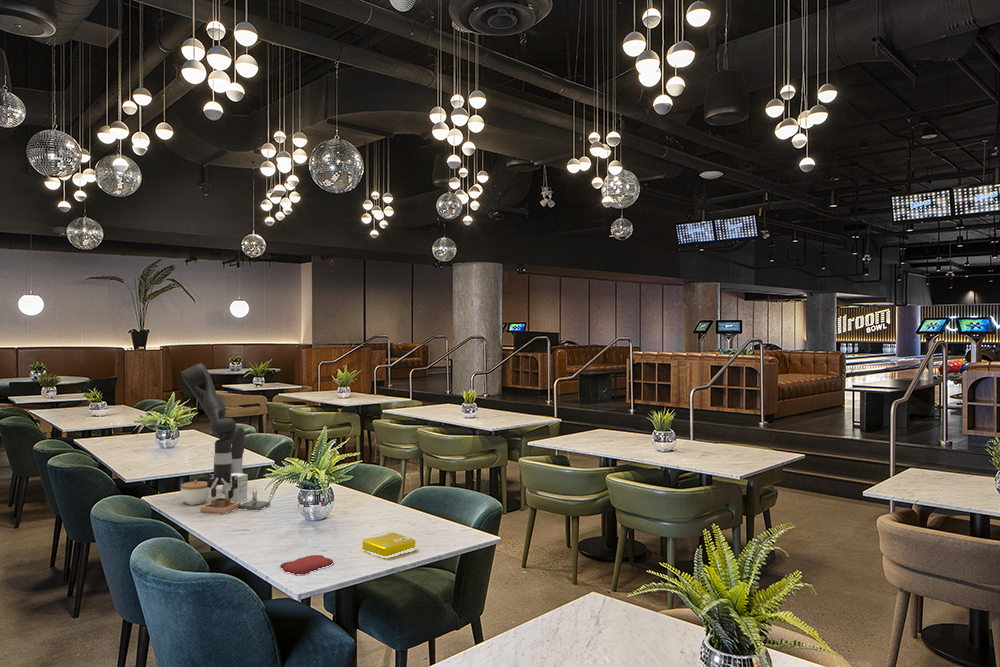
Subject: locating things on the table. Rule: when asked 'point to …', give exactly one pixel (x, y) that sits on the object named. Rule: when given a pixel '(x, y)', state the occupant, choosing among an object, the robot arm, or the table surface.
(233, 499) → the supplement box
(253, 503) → the post stand
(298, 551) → the table surface
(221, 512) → the terracotta tray
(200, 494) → the lidded bowl
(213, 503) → the brown wooden box
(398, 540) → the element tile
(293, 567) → the patty
